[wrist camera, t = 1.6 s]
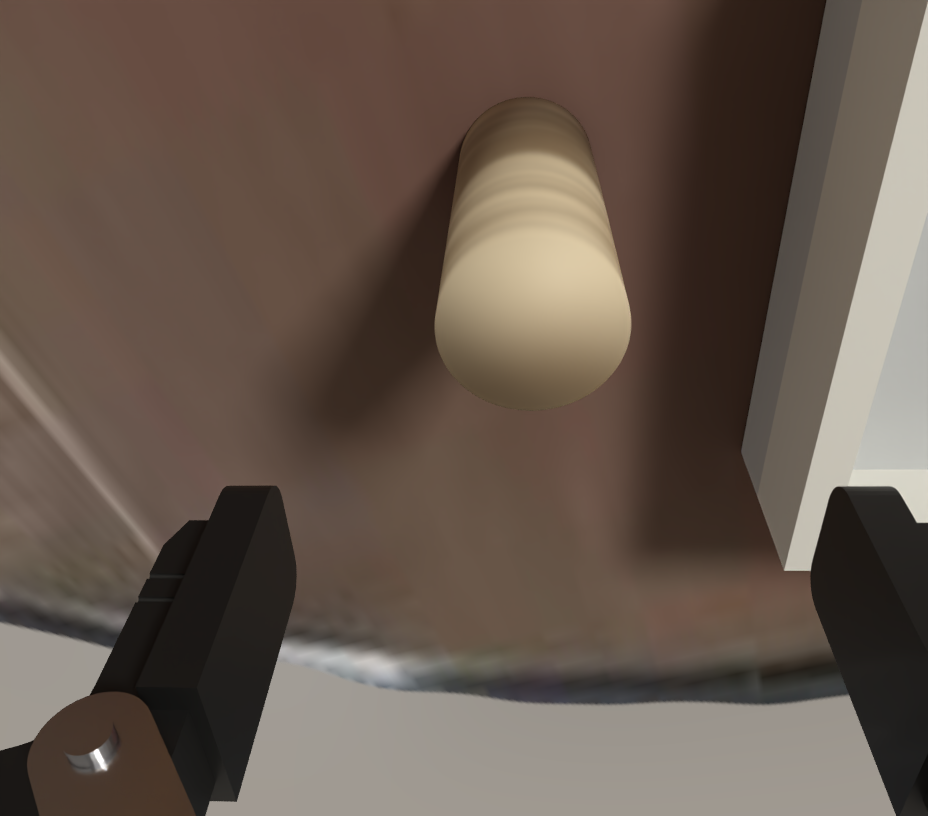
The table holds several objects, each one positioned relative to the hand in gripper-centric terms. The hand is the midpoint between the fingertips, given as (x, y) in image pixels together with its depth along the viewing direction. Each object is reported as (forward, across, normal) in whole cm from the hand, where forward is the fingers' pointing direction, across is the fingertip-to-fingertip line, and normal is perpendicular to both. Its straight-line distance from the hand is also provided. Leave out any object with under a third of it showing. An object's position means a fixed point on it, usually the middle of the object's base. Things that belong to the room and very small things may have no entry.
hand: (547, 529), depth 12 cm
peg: (+16, 0, 0) cm, 16 cm away
